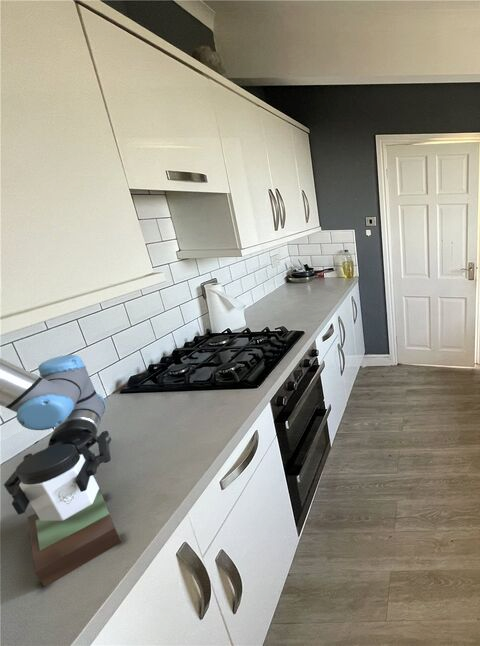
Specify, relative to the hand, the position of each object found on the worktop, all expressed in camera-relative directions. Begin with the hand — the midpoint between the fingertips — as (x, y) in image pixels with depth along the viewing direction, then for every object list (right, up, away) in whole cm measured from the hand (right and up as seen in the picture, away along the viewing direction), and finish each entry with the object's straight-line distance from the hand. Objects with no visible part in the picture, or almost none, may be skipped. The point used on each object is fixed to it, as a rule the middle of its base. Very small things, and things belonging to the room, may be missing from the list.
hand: (50, 496), depth 65 cm
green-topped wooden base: (-2, -13, +8) cm, 15 cm away
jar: (-2, -5, +6) cm, 8 cm away
